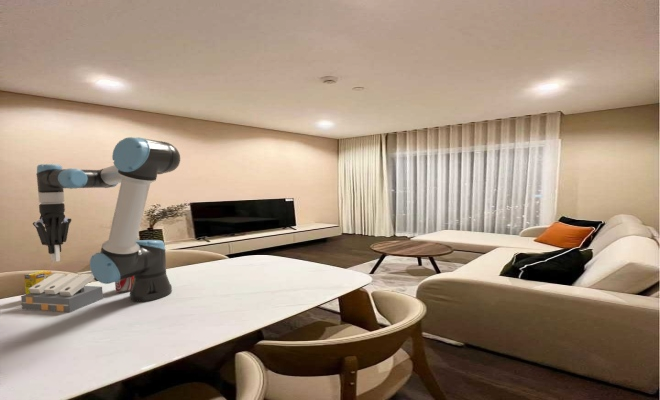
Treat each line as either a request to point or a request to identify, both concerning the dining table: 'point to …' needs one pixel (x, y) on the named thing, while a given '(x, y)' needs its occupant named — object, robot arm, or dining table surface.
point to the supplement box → (35, 279)
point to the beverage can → (124, 284)
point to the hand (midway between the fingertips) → (55, 260)
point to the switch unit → (62, 300)
